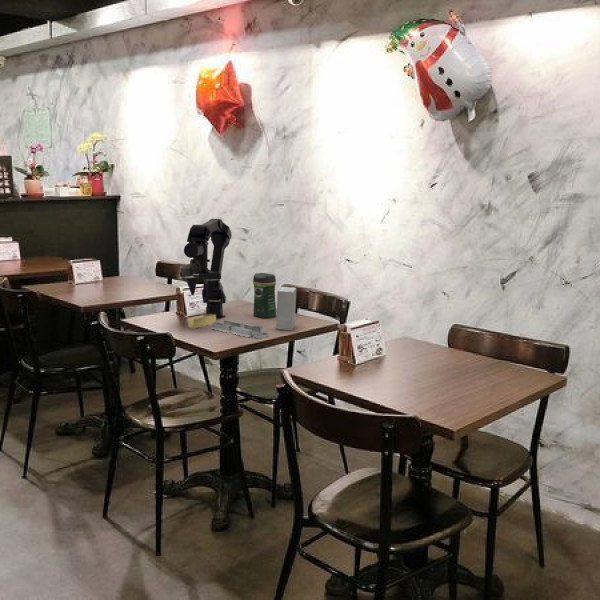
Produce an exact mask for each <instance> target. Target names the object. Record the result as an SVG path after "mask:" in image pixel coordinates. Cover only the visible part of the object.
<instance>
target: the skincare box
mask: <svg viewBox="0 0 600 600" xmlns="http://www.w3.org/2000/svg"><path fill="white" fill-rule="evenodd" d="M276 298H277V299H276V300H277V301H276V319H275V320H276V322H275V323H276V326H275V329H276V330H280V331H281V330H282V331H284V330H285V331H292V330H293V328H294V327H295V322H296V308H297V306H296V303H297V287H290V286H280V287H279V289H277V297H276Z"/></svg>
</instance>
